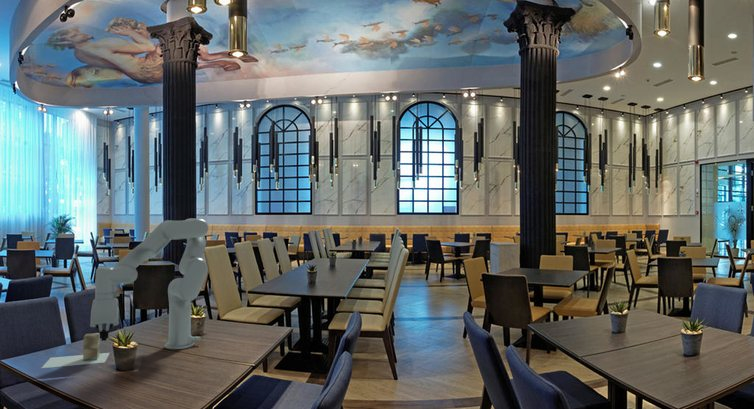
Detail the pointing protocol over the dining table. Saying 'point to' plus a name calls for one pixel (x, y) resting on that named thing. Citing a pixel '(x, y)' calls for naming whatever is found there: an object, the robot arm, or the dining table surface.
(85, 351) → the oak block
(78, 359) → the grey mat
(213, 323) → the dining table surface
